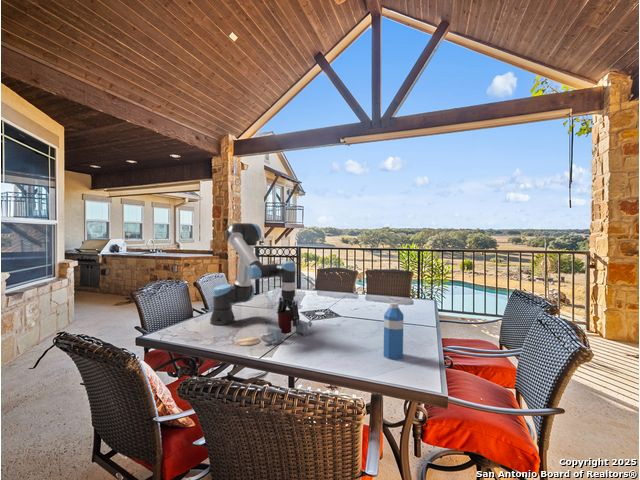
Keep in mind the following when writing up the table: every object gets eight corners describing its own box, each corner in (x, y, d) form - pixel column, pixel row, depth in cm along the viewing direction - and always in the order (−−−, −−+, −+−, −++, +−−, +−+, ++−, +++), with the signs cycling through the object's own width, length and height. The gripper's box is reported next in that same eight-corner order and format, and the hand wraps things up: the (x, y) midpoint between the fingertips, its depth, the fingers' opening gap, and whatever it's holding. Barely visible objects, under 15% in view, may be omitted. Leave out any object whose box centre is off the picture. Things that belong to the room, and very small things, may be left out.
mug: (300, 329, 170) (300, 310, 169) (297, 334, 161) (298, 314, 161) (279, 328, 171) (280, 309, 171) (275, 333, 162) (276, 313, 162)
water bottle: (380, 352, 146) (381, 301, 145) (399, 351, 146) (400, 301, 146) (386, 360, 136) (387, 305, 136) (406, 359, 137) (407, 305, 137)
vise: (256, 341, 158) (256, 328, 158) (305, 328, 181) (305, 317, 181) (267, 347, 151) (267, 333, 151) (316, 332, 174) (316, 320, 174)
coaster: (232, 341, 158) (232, 340, 158) (252, 336, 167) (252, 335, 167) (244, 347, 150) (244, 346, 150) (264, 342, 158) (264, 341, 158)
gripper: (271, 287, 171) (270, 326, 172) (295, 293, 155) (294, 336, 156) (281, 285, 176) (281, 323, 177) (306, 291, 160) (305, 333, 161)
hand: (287, 329), depth 166 cm, fingers closed on mug, 9 cm apart
